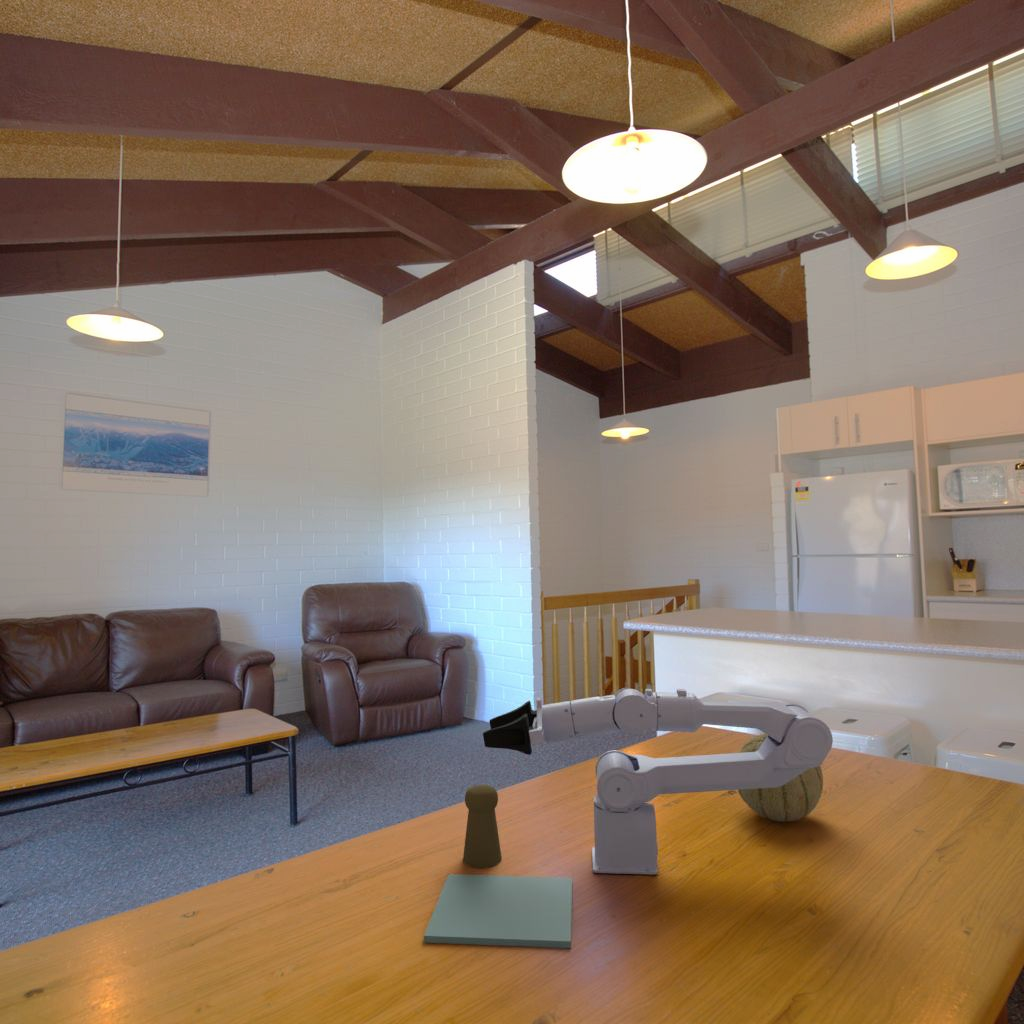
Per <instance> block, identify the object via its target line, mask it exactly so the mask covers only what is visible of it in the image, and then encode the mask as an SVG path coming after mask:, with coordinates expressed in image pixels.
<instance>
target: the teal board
mask: <svg viewBox="0 0 1024 1024" xmlns="http://www.w3.org/2000/svg"><path fill="white" fill-rule="evenodd" d="M437 899H438V900H437V902H436V905H435V907H434V910H433V912H432V915H431V917H430V919H429V922H428V925H427V928H426V930H425V932H424V935H423V943H427V944H431V943H432V944H451V945H452V944H453V945H455V944H456V945H457V944H458V945H479V946H480V945H482V946H483V945H484V946H500V947H501V946H504V947H506V946H508V947H509V946H510V947H527V948H528V947H531V948H551V949H552V948H553V949H554V948H556V949H571V948H572V919H573V918H572V915H573V913H572V912H573V908H572V907H573V878H572V877H556V876H555V877H553V876H552V877H551V876H550V877H549V876H522V875H521V876H520V875H519V876H518V875H517V876H516V875H490V874H489V875H486V874H484V875H483V874H482V875H481V874H456V873H455V874H453V873H452V874H451V873H449V874H448V875H447V877H446V880H445V882H444V884H443V887H442V889H441V892H440V895H439V897H438V898H437Z"/></svg>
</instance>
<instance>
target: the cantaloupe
mask: <svg viewBox="0 0 1024 1024" xmlns="http://www.w3.org/2000/svg"><path fill="white" fill-rule="evenodd" d="M766 737H767V734H765V733H761V734H758V735H755V736H753V737H752V738H749V740H748V741H747V742H746V743H745V744H743V746H742V747H741V748H740V750H739V752H738V753H745V752H756V751H758V749H759V748H760V746H761V745H762V743H763V742H764V740H765V739H766ZM823 788H824V776H823V771H822V765H821V766H818V767H814V768H810V769H807V770H806V771H804V772H803V773H801V774H800V775H798V776H797V777H795V778H794V779H792V780H790V781H789V782H787V783H786V784H784V785H782V786H780V787H774V788H758V789H741V790H737V792H738V794H739V796H740V798H741V799H742V801H743V802H744V803H745V804H746V806H747V807H748V808H750V809H751V810H752V812H754V813H756V814H757V815H759V816H760V817H762V818H765V819H768V820H771V821H773V822H781V823H782V822H794V821H798V820H800V819H802V818H803V817H807V816H808V815H810V813H811V812H812V811H813V810H815V808H816V807H817V805H818V803H819V802H820V799H821V797H822V793H823V790H824V789H823Z"/></svg>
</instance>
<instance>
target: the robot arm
mask: <svg viewBox="0 0 1024 1024" xmlns="http://www.w3.org/2000/svg"><path fill="white" fill-rule="evenodd" d="M535 700H536V708H534V709H533V707H532V703H531V701H530V700H528V701H526V702H524V703H523V704H522V705H521V706H518V707H517V708H515V709H513V710H511V711H509V712H506V713H503V714H501V715H497V716H494V717H493V718H490V719H489V727H490V729H488V730H485V731H484V732H483V733H482V735H483V742H484V747H485V748H491V749H503V750H505V749H506V750H510V751H511V750H513V751H515V752H520V753H522V754H525V755H528V756H529V755H532V752H533V750H532V746H536V745H537V746H538V745H543V746H546V745H549V744H550V743H551V744H552V743H556V742H562V741H565V742H566V741H571V740H576V739H583V738H589V737H596V736H602V735H606V734H611V733H619V732H624V733H627V734H628V735H629V734H631V735H634V736H640V735H643V734H645V733H647V731H649V730H651V731H653V732H677V733H695V732H696V731H697V730H699V729H700V728H701V727H702V726H704V725H708V726H709V725H710V726H724V727H734V728H735V727H736V728H743V729H744V728H745V729H757V730H759V731H761V732H762V733H763V734H767V737H766V739H765V740H764V742H763V743H762V745H761V746H760V748H759V749H758V751H756V752H745V753H739V752H732V753H718V754H717V753H716V754H703V755H702V754H699V755H686V756H672V757H669V756H668V757H656V758H655V757H650V756H648V755H647V756H646V755H643V754H629V753H626V752H624V751H621V750H614V749H611V750H608V751H606V752H604V753H602V754H601V755H600V756H599V758H598V759H597V762H596V764H595V776H596V781H597V782H596V795H595V796H594V797H593V826H594V827H593V829H594V833H593V834H594V835H593V836H594V837H593V839H594V846H592V847H591V858H592V859H591V860H592V864H591V865H592V872H593V873H595V874H616V875H617V874H619V875H621V874H623V875H654V876H655V875H658V874H659V870H658V855H659V846H658V841H657V839H658V838H657V820H656V819H657V818H656V810H655V809H656V808H655V806H654V803H650V802H652V800H654V799H655V798H656V797H658V796H660V795H671V794H672V795H673V794H687V793H688V794H690V793H703V792H704V793H706V792H720V791H721V792H722V791H723V792H724V791H738V790H741V789H758V788H774V787H780V786H782V785H784V784H786V783H787V782H789V781H790V780H792V779H794V778H795V777H797V776H798V775H800V774H801V773H803V772H804V771H806V770H807V769H810V768H814V767H818V766H821V767H822V764H823V763H824V761H825V760H826V758H827V756H828V755H829V753H830V751H831V749H832V747H833V734H832V731H831V729H830V727H829V726H828V724H826V723H825V722H824V721H823V720H821V719H819V718H817V717H816V716H814V715H812V714H811V713H810V712H809V711H808V709H806V708H804V707H803V706H801V705H799V704H797V703H786V704H784V703H783V702H778V701H701V700H700V699H699V698H698V697H697V695H695V693H688V692H687V690H686V689H685V688H677V689H676V692H662V691H661V692H658V691H656V692H655V691H653V689H652V688H645V690H644V693H643V692H641V691H639V690H638V689H635V688H628V687H623V688H621V689H619V690H617V692H615V694H609V695H603V696H592V697H586V698H580V699H572V700H568V701H567V700H566V701H561V702H555V703H554V702H553V703H547V704H543V700H542V697H537V698H536V699H535Z"/></svg>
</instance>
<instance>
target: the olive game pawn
mask: <svg viewBox="0 0 1024 1024" xmlns="http://www.w3.org/2000/svg"><path fill="white" fill-rule="evenodd" d="M498 802H499V795H498V791H497V790H496V788H495V787H494V786H492V785H488V784H476V785H473V786H470V787H468V789H467V790H466V792H465V794H464V804H465V806H466V808H467V810H468V812H467V822H466V828H465V829H466V830H465V838H464V845H463V846H464V847H463V855H462V856H463V857H462V861H463V863H464V864H465V865H466V866H468V867H471V868H475V869H487V868H491V867H494V866H497V865H499V864H500V863H501V861H502V859H503V858H502V851H501V850H502V849H501V844H500V837H499V836H500V835H499V830H498V823H497V822H498V821H497V816H496V814H497V813H496V807H498V806H497V805H498Z"/></svg>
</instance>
